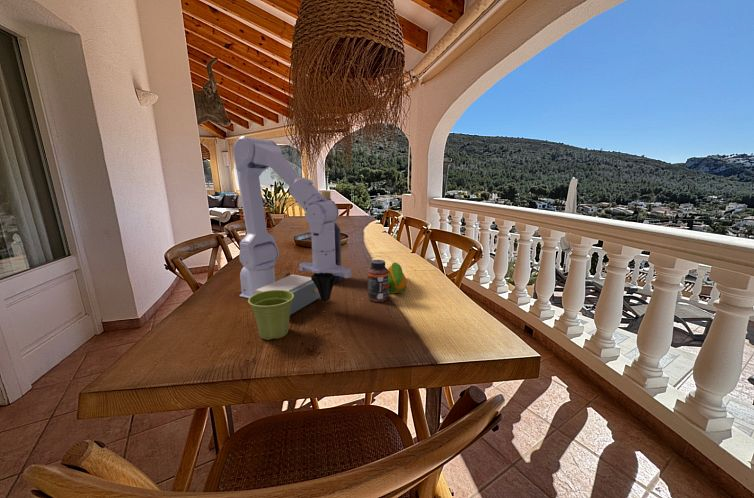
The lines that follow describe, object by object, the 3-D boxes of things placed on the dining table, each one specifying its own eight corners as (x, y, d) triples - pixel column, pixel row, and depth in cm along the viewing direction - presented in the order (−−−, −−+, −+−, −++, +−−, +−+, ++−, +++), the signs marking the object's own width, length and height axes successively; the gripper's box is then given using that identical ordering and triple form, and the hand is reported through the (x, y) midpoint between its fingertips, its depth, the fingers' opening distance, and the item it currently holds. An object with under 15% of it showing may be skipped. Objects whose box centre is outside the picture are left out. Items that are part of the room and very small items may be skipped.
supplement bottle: (386, 303, 82) (386, 264, 79) (365, 302, 83) (365, 263, 81) (389, 295, 88) (390, 259, 85) (370, 294, 89) (370, 257, 86)
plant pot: (273, 320, 72) (271, 287, 70) (304, 328, 68) (302, 293, 66) (242, 338, 64) (238, 301, 62) (275, 348, 60) (271, 309, 58)
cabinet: (257, 311, 77) (255, 289, 75) (293, 293, 89) (292, 274, 88) (281, 317, 74) (279, 294, 72) (315, 297, 86) (314, 278, 85)
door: (279, 318, 73) (278, 297, 71) (316, 297, 86) (315, 279, 84) (286, 319, 72) (284, 299, 71) (321, 298, 85) (321, 280, 84)
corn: (384, 273, 84) (382, 255, 103) (382, 298, 86) (380, 276, 105) (410, 274, 84) (402, 257, 104) (407, 299, 86) (400, 277, 105)
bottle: (320, 274, 106) (317, 190, 100) (345, 276, 105) (343, 190, 98) (311, 283, 98) (307, 191, 91) (338, 285, 96) (336, 191, 89)
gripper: (289, 249, 73) (293, 300, 76) (340, 256, 67) (341, 310, 70) (307, 244, 79) (310, 291, 83) (354, 249, 74) (355, 300, 77)
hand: (325, 300), depth 77 cm, fingers closed
